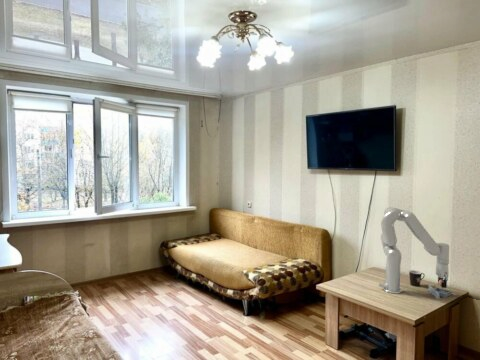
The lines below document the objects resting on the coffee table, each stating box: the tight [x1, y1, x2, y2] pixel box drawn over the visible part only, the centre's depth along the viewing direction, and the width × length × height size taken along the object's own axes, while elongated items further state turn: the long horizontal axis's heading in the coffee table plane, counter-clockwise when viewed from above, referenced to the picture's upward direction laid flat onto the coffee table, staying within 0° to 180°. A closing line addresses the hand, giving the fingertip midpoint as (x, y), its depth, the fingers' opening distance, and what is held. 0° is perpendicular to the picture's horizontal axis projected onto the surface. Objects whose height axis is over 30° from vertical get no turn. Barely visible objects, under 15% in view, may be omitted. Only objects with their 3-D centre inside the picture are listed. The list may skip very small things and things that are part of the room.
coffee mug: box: [408, 269, 425, 288], centre depth 261 cm, size 12×9×10 cm
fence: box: [427, 285, 441, 300], centre depth 243 cm, size 2×15×4 cm, turn 172°
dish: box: [430, 286, 453, 298], centre depth 244 cm, size 10×10×2 cm
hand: (442, 285), depth 244 cm, fingers closed on ball, 4 cm apart
